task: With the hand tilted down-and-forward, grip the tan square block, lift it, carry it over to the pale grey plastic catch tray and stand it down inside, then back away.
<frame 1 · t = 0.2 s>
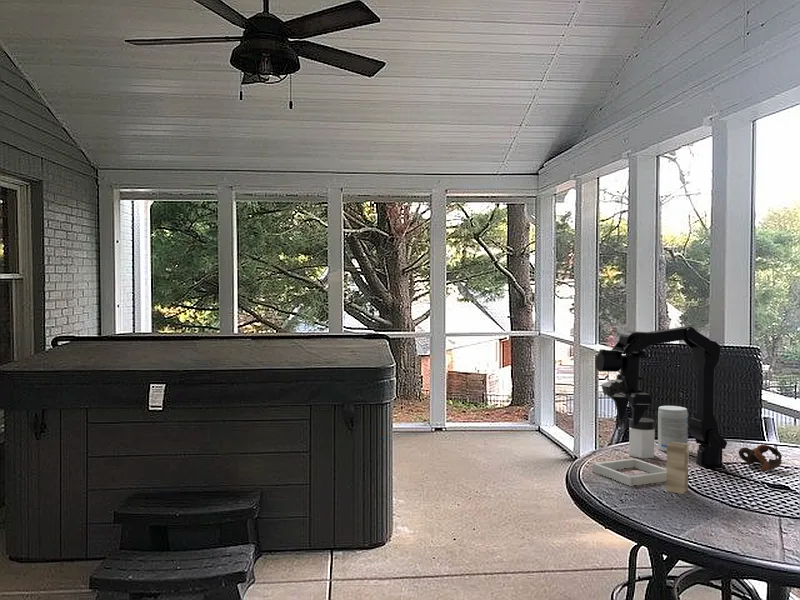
hand: (627, 422, 214), 14 cm above the table, tool pointing down, fingers open, 9 cm apart
catch tray: (632, 475, 207), on the table
supplement tub: (672, 450, 239), on the table
jar: (641, 456, 231), on the table
tan square block: (677, 490, 192), on the table
brown looped piece: (759, 468, 217), on the table
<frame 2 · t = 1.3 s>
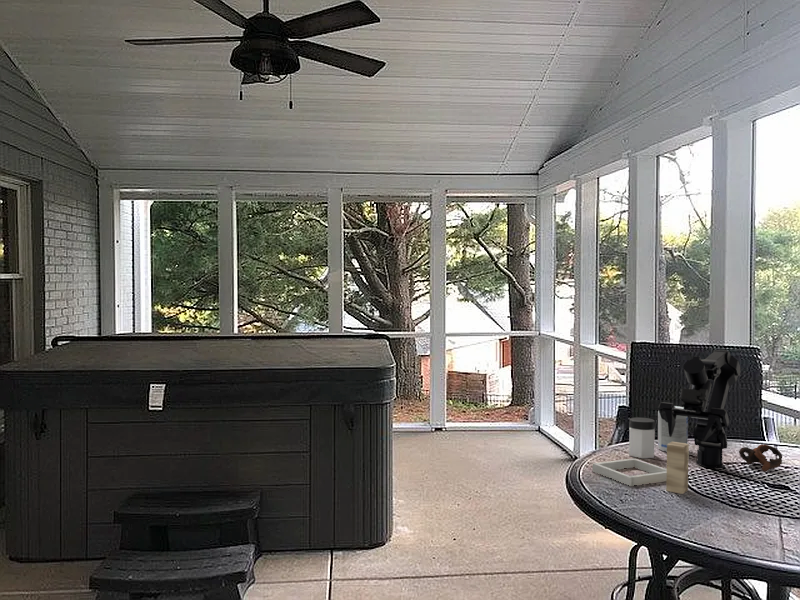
hand: (686, 438, 198), 13 cm above the table, tool tilted 45°, fingers open, 9 cm apart
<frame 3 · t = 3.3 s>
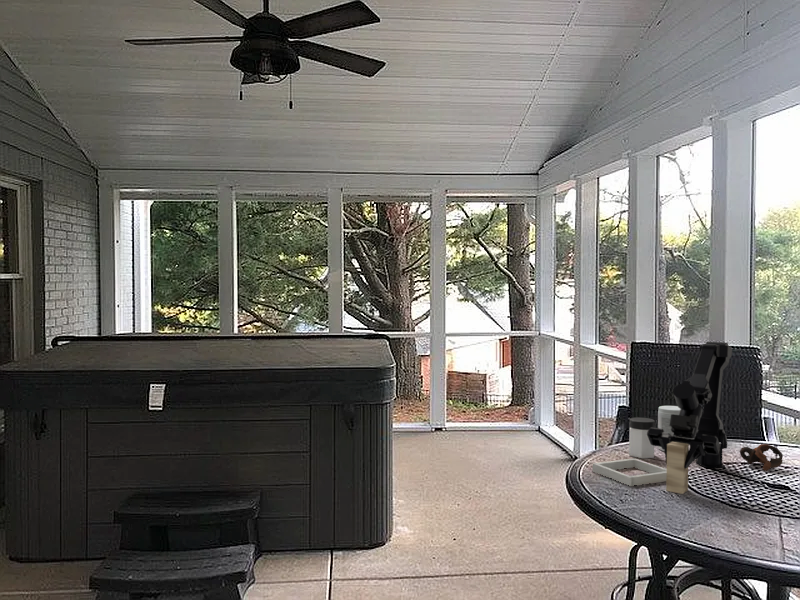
hand: (676, 466, 191), 7 cm above the table, tool tilted 45°, fingers closed on tan square block, 4 cm apart
tan square block: (677, 490, 192), on the table, touching gripper
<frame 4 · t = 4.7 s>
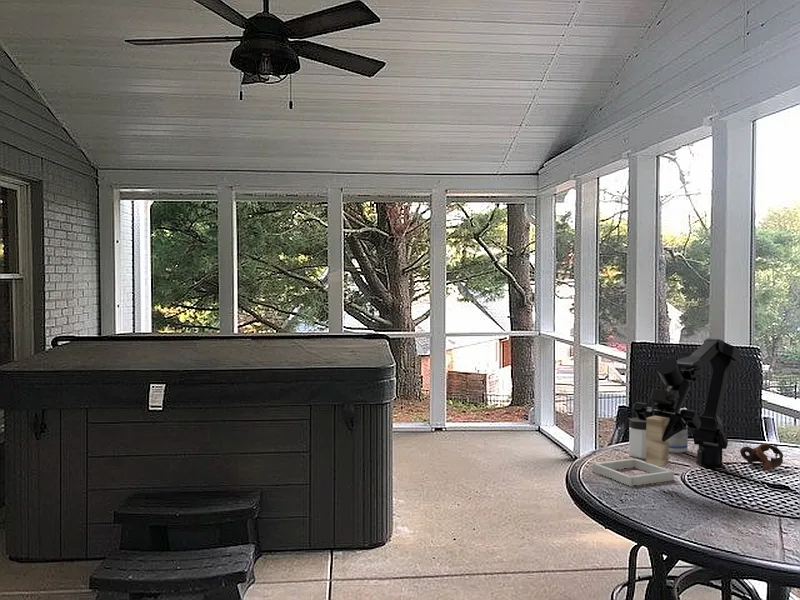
hand: (655, 439, 196), 13 cm above the table, tool tilted 45°, fingers closed on tan square block, 4 cm apart
tan square block: (657, 463, 197), point 6 cm above the table, touching gripper
when the fingers open (8 cm above the table, at t = 6.6 s): tan square block stays where it is, resting in catch tray.
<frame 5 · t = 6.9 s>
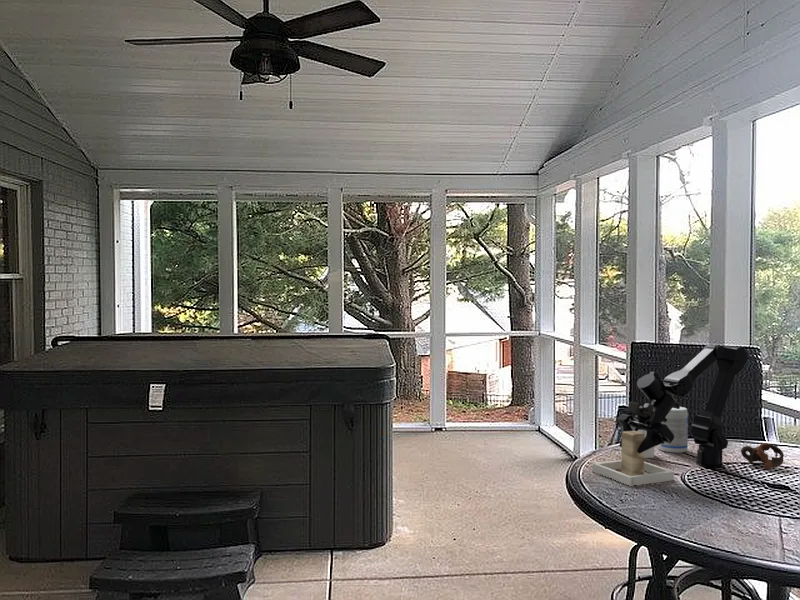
hand: (629, 449, 206), 8 cm above the table, tool tilted 45°, fingers open, 7 cm apart
tan square block: (632, 475, 207), resting in catch tray
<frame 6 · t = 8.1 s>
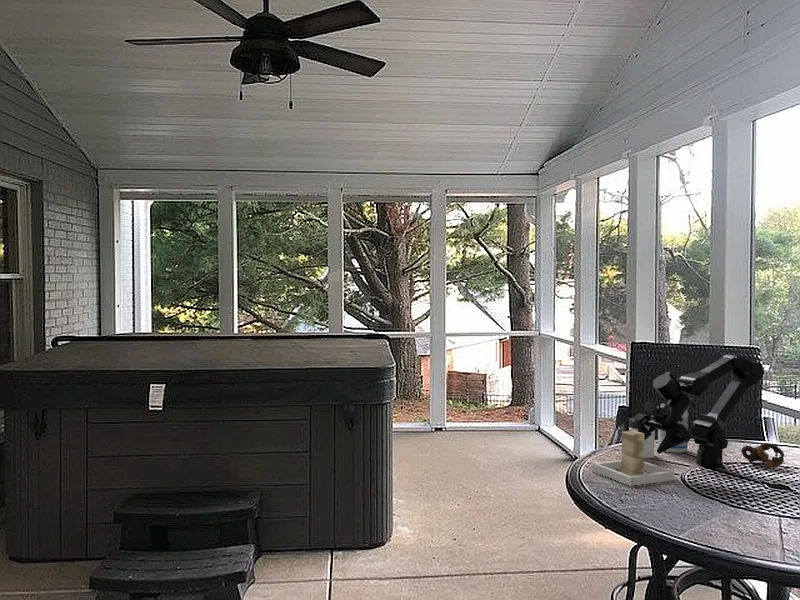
hand: (646, 449, 209), 8 cm above the table, tool tilted 45°, fingers open, 9 cm apart
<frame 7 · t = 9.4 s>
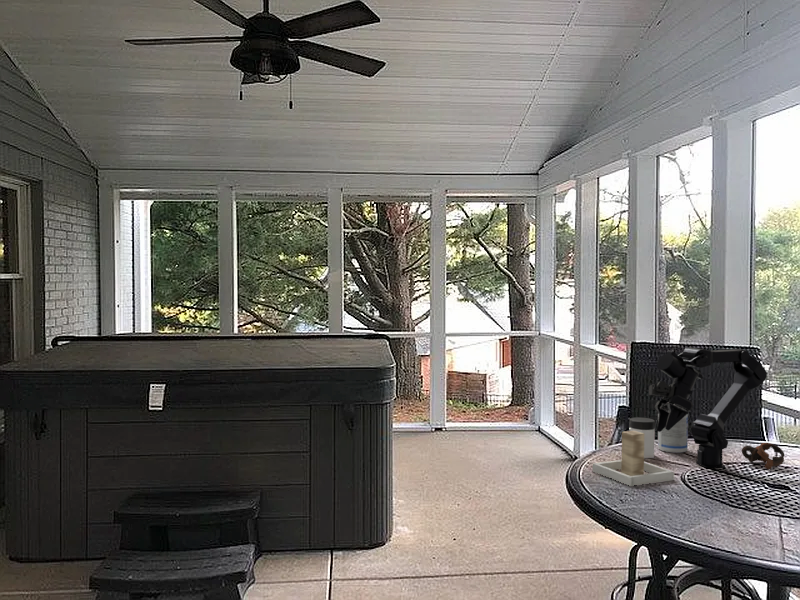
hand: (662, 430, 211), 13 cm above the table, tool tilted 30°, fingers open, 9 cm apart
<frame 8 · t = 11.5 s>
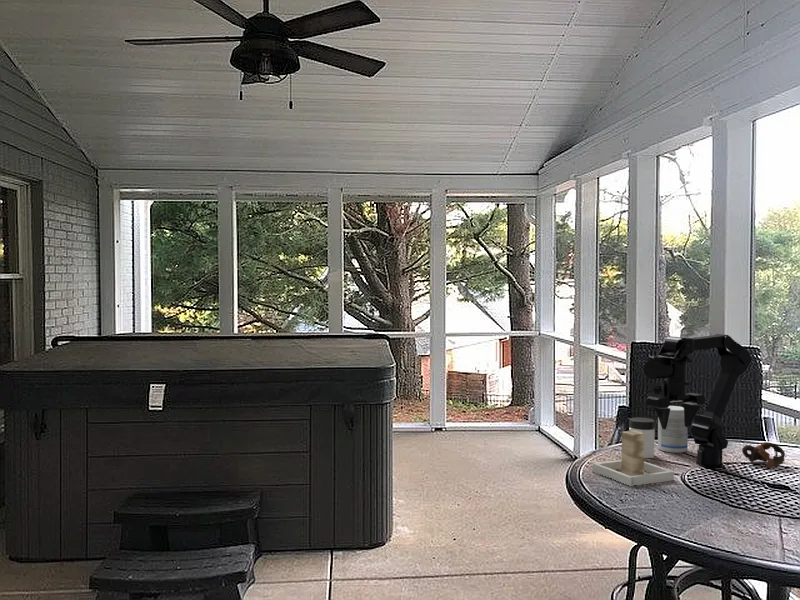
hand: (675, 428, 213), 13 cm above the table, tool pointing down, fingers open, 9 cm apart
at the end: tan square block 0.0 cm from the catch tray (horizontally); tan square block moved 16.1 cm from its start; the gripper is holding nothing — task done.
